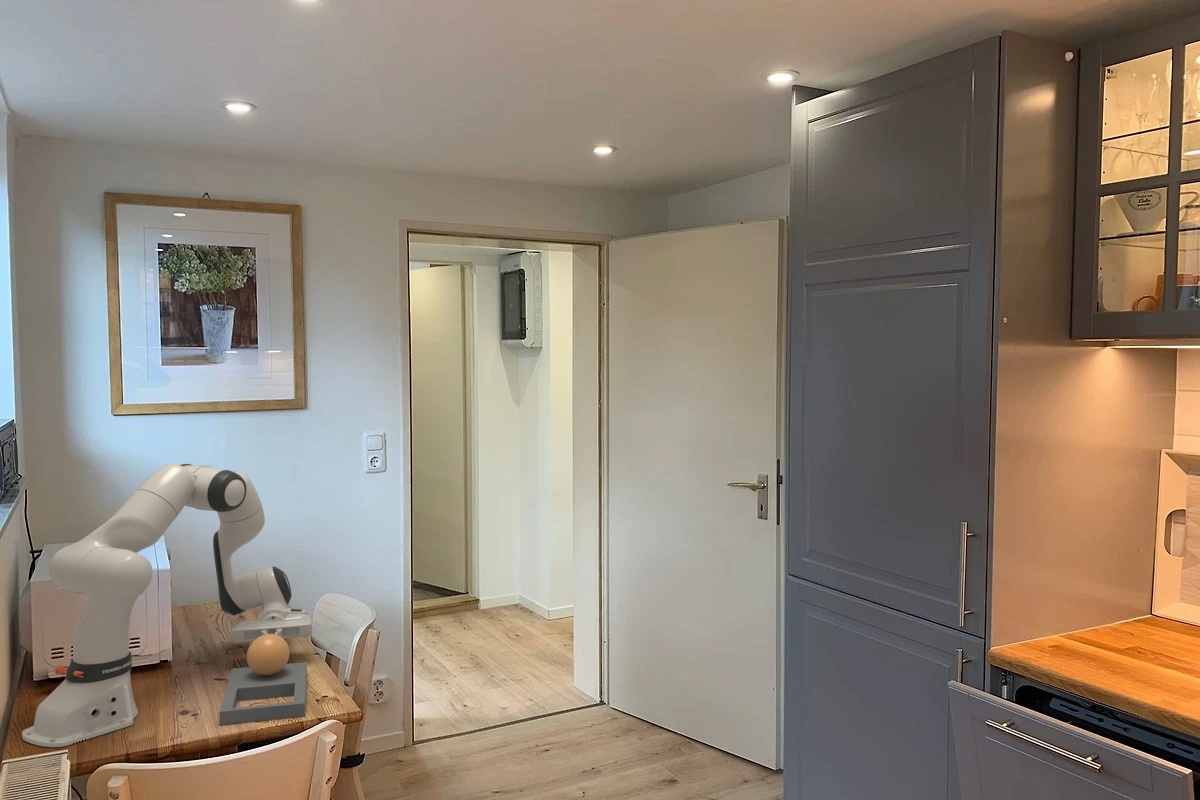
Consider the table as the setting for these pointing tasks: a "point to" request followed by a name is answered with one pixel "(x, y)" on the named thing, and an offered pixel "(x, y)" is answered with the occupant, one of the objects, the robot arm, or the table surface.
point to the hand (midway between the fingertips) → (271, 638)
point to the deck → (264, 694)
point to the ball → (268, 654)
